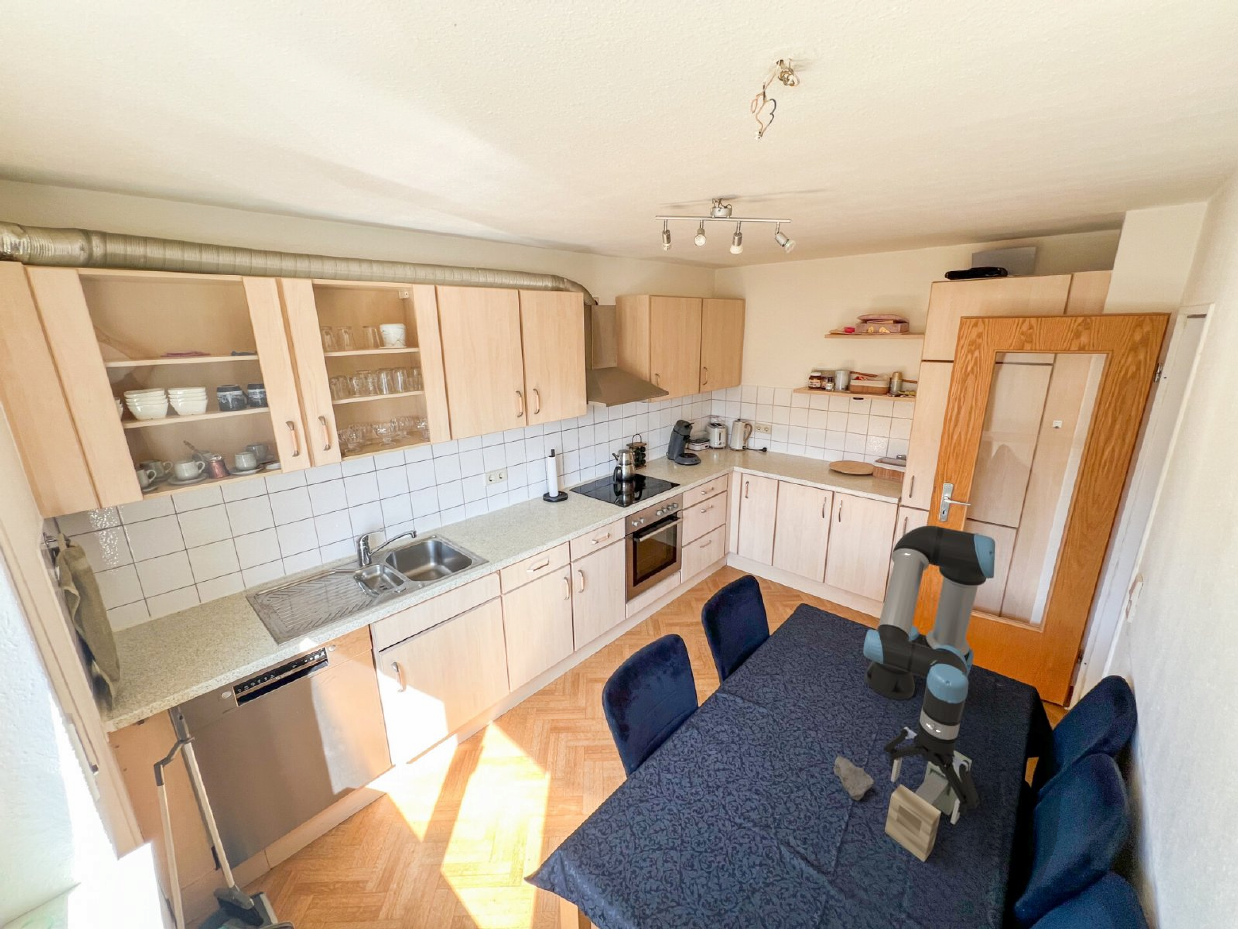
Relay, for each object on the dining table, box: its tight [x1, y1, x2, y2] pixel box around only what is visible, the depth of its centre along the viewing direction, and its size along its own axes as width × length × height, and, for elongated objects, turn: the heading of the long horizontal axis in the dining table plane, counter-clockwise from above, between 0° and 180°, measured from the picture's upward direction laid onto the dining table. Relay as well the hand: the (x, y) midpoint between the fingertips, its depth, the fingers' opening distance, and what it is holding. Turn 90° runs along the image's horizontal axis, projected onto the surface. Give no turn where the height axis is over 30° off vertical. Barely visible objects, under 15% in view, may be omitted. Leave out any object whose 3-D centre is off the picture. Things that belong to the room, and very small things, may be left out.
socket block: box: [884, 783, 942, 863], centre depth 117 cm, size 5×9×12 cm, turn 37°
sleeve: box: [923, 749, 973, 816], centre depth 129 cm, size 10×7×11 cm, turn 127°
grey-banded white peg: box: [914, 770, 951, 809], centre depth 121 cm, size 18×4×4 cm, turn 127°
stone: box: [833, 755, 875, 801], centre depth 133 cm, size 8×10×6 cm
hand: (923, 798), depth 119 cm, fingers open, 13 cm apart
